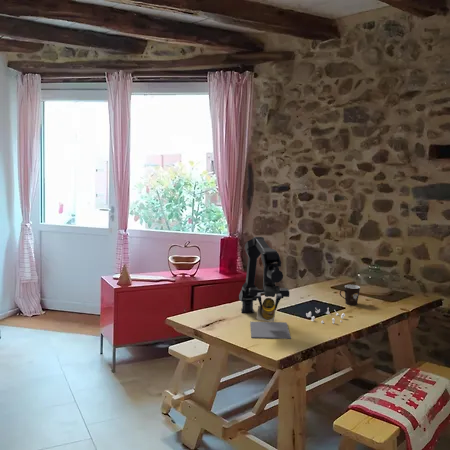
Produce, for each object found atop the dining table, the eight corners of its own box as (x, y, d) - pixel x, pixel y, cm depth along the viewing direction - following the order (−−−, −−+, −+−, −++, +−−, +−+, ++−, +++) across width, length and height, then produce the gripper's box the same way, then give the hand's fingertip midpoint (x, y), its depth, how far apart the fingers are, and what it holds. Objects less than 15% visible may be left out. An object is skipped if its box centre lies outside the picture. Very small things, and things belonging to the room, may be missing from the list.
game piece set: (346, 315, 275) (346, 308, 274) (341, 326, 256) (342, 319, 256) (310, 311, 281) (310, 304, 281) (302, 322, 263) (302, 314, 262)
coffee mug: (357, 302, 300) (358, 285, 298) (360, 306, 291) (361, 288, 290) (337, 301, 301) (338, 284, 300) (339, 305, 292) (340, 287, 291)
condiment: (273, 322, 248) (275, 310, 239) (256, 319, 249) (256, 307, 240) (275, 308, 252) (277, 296, 243) (258, 306, 253) (259, 293, 244)
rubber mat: (250, 322, 259) (250, 321, 259) (286, 323, 258) (286, 322, 258) (251, 337, 237) (251, 336, 237) (290, 339, 236) (290, 337, 236)
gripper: (249, 281, 235) (248, 314, 237) (291, 282, 234) (289, 315, 236) (249, 275, 246) (248, 307, 248) (288, 276, 245) (287, 308, 247)
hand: (268, 309), depth 245 cm, fingers closed on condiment, 6 cm apart
